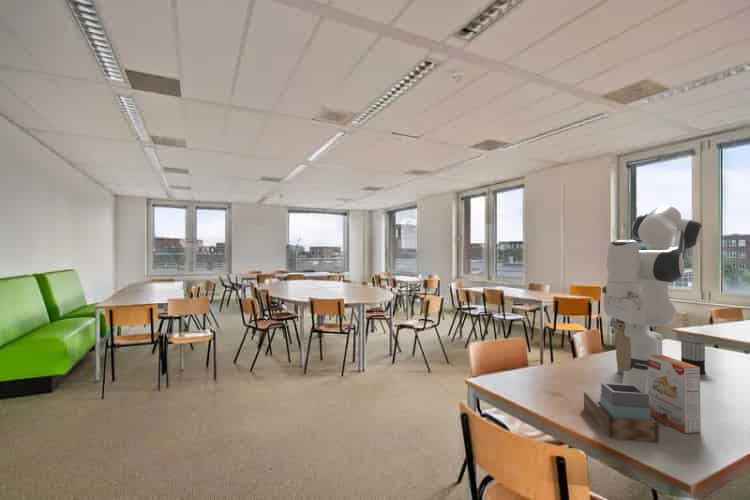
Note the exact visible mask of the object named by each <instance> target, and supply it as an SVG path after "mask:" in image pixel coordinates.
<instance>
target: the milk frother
mask: <svg viewBox="0 0 750 500" xmlns="http://www.w3.org/2000/svg"><path fill="white" fill-rule="evenodd" d="M680 341H681V342H680V350H681V351H680V352H681V354H680V355H681V356H680V357H681V358H680V359H681V360H680V361H682V362H685V363H688V364H691V365H695V366H698V367H700V375H704V374H706V341H705V340H702V339H697V338H687V337H685V338H680Z"/></svg>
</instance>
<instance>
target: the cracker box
mask: <svg viewBox="0 0 750 500" xmlns="http://www.w3.org/2000/svg"><path fill="white" fill-rule="evenodd" d="M648 394H649V408H650V416H651V417H652V418H653V419H654V418H655V420H659V421H660V422H662V423H664V424H666V425H668V426H670V427H671V428H672V429H675V430H677V431H678V432H681V433H682V434H684V435H686V434H700V433H701V430H702V429H701V428H702V427H701V425H702V424H701V423H702V422H701V374H700V367H698V366H695V365H691V364H688V363H685V362H682V361H681V360H679V359H676V358H672V357H669V356H667V355H663V354H662V355H649V356H648Z"/></svg>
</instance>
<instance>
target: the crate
mask: <svg viewBox="0 0 750 500" xmlns="http://www.w3.org/2000/svg"><path fill="white" fill-rule="evenodd" d="M600 385H601V386H600V387H601V390H600V391H601V393H600V399H599V400H600V401H599V402H600V406H601V407H602V408H603V409H604V410H605V411H606V412H607V413H608V414H609V415H610V416H611V417H612V418H623V419H636V420H649V421H650V416H651V415H650V408H649V394H647V393H646V392H645V391H643V390H642V389H640V388H639V387H637V386H636V385H629V384H622V383H612V382H611V383H610V382H601V384H600Z"/></svg>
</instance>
